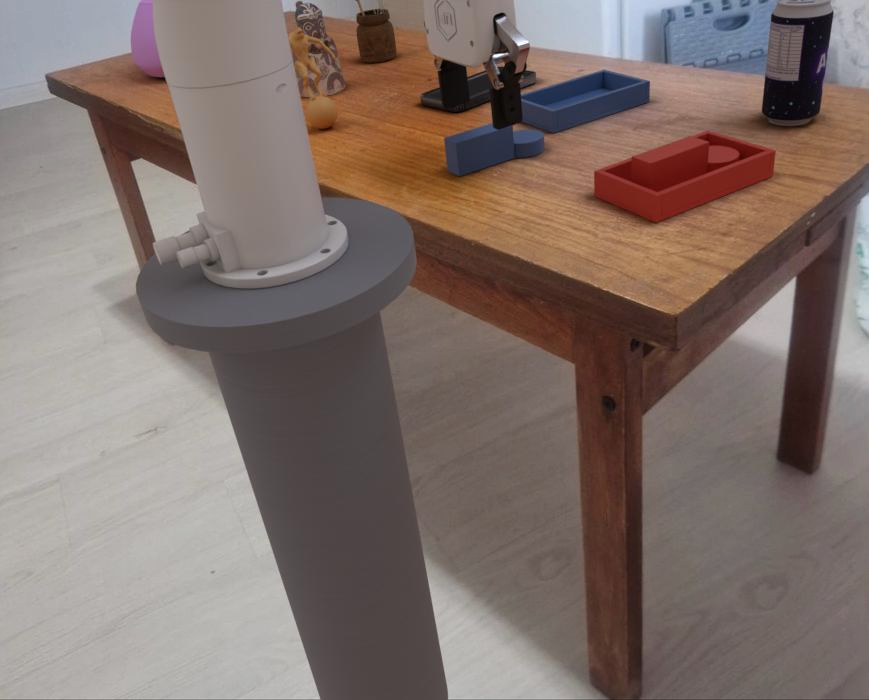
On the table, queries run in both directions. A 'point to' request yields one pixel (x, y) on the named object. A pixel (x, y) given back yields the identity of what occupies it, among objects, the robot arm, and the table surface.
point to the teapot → (145, 40)
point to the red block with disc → (679, 163)
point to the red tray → (689, 194)
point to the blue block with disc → (489, 147)
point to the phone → (472, 91)
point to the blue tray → (583, 100)
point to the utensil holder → (375, 35)
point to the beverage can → (796, 60)
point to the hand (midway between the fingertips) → (481, 114)
